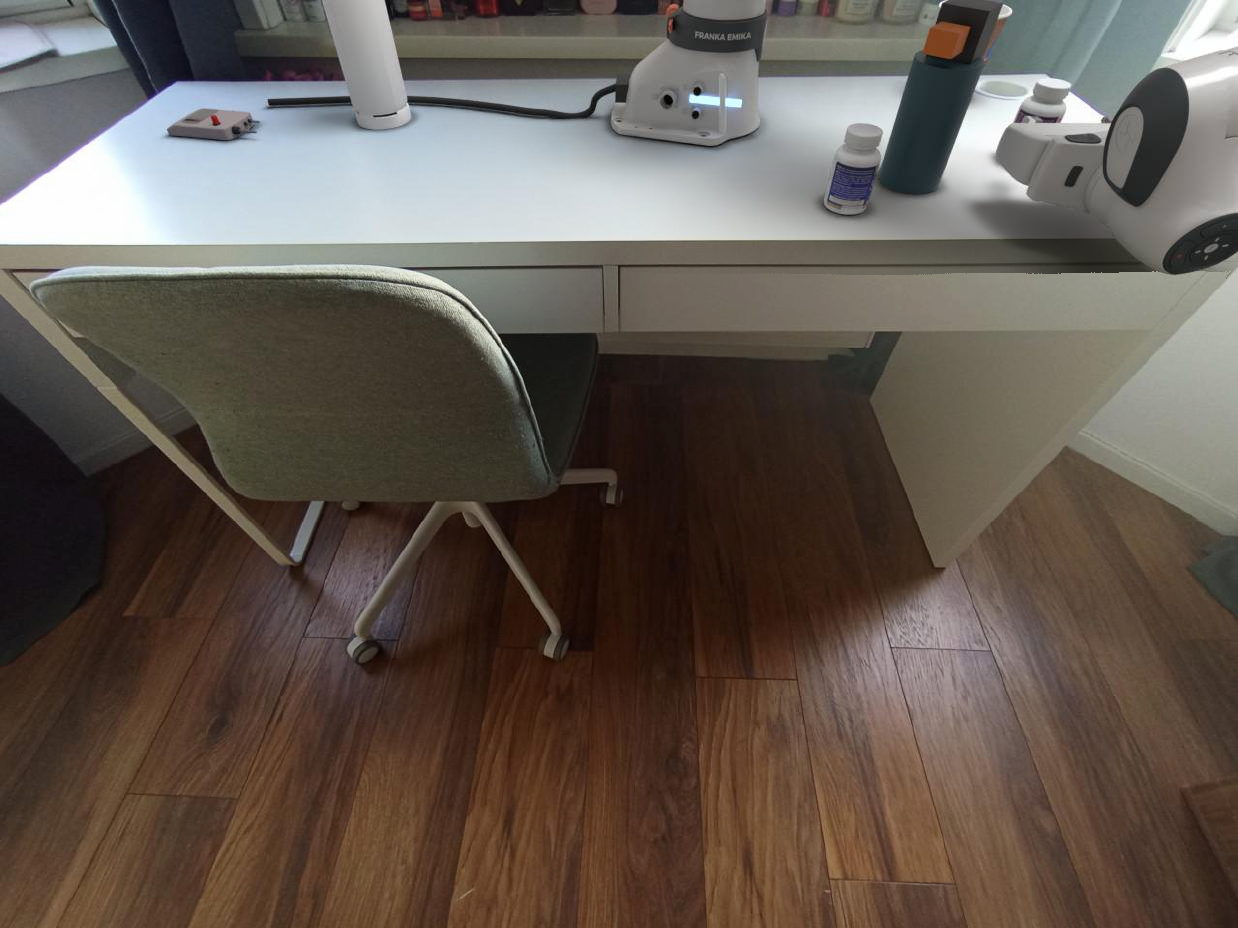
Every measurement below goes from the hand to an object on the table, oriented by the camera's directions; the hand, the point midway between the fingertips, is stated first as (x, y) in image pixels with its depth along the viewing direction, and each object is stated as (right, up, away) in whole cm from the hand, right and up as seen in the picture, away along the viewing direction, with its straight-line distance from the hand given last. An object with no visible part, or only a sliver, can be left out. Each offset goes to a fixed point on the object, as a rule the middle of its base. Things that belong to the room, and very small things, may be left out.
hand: (1066, 122), depth 77 cm
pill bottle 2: (0, 0, +10) cm, 10 cm away
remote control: (-115, +8, +17) cm, 116 cm away
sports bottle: (-17, -5, +6) cm, 18 cm away
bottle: (-91, +11, +20) cm, 94 cm away
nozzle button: (-19, +4, -8) cm, 21 cm away
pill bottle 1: (-27, -10, +1) cm, 29 cm away
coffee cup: (-2, +18, +26) cm, 32 cm away
